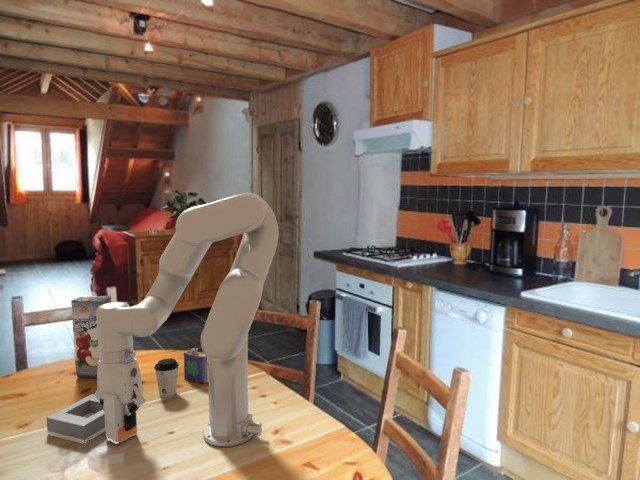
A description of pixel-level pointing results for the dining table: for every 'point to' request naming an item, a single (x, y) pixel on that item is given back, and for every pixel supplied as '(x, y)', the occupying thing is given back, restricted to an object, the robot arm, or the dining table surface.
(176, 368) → the coffee cup
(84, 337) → the juice carton
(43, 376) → the dining table surface
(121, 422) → the skincare box
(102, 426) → the socket plate
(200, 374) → the flask
